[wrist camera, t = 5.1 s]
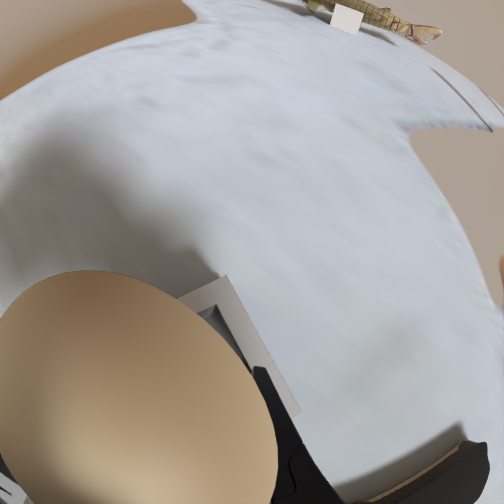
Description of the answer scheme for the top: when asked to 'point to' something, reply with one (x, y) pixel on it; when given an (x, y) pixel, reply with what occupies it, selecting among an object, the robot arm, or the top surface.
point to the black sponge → (444, 479)
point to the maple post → (127, 399)
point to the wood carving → (370, 18)
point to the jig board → (237, 331)
